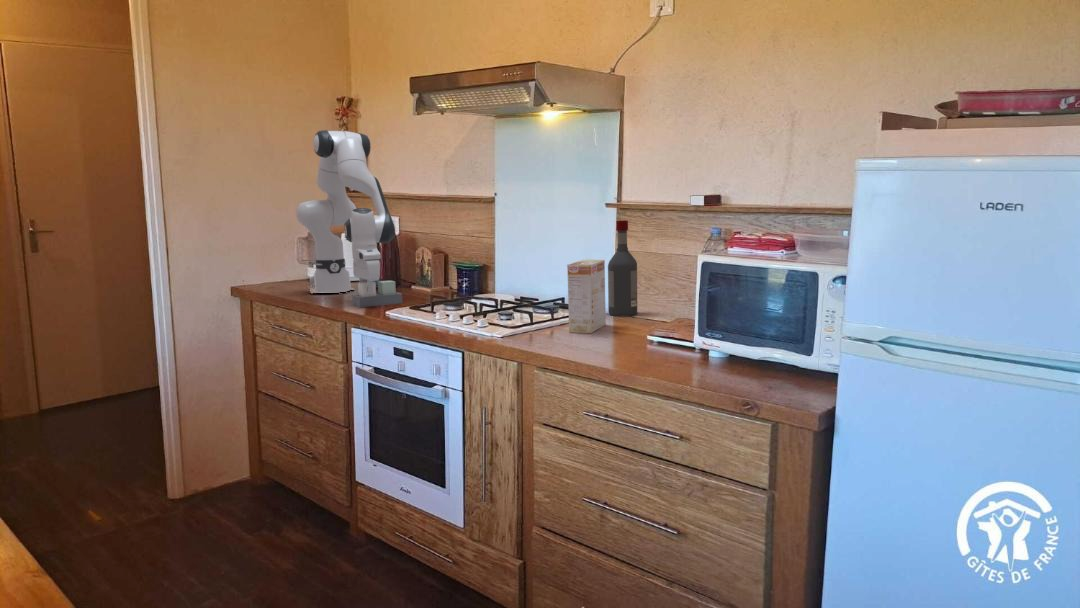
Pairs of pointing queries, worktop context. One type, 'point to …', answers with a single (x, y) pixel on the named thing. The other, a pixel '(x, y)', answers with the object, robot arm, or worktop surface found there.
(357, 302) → the slot rack
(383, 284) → the sage plug
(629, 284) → the liquor
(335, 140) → the robot arm
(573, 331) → the coffeecake box
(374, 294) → the ivory plug
